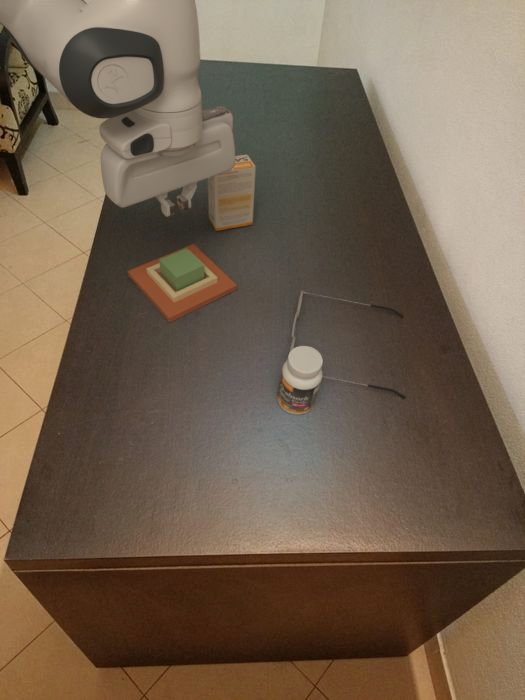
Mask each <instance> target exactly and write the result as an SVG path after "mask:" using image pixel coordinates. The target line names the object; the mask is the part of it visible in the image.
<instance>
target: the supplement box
mask: <svg viewBox="0 0 525 700" xmlns="http://www.w3.org/2000/svg"><path fill="white" fill-rule="evenodd" d="M256 169H257V168H256V165H255V163H254V162H253V161H252V159H251V158H250V156H249V155H248V154H240V155H235V164H234V166H233V168H232V169H231V170H230V171H227V172H224V173H221V174H219V175H216V176H213V177H210V178H207V198H208V200H207V201H208V219H209V222H210V223H211V225H212V226H213V229H214V230H215V232H220V231H226V230H230V229H236V228H240V227H246V226H251V225H253V224H254V206H255V186H256V185H255V184H256Z"/></svg>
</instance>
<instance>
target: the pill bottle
mask: <svg viewBox="0 0 525 700" xmlns="http://www.w3.org/2000/svg"><path fill="white" fill-rule="evenodd" d="M323 363H324V362H323V356H322V355H321V353H320V352H319V351H318V350H317V349H316V348H314V347H312V346H309V345H298V346H295V347H294V349H292V350H291V352H290V351H289V354H288V356H287V359H286V361H285V362H284V363H283V365H282V368H281V373H280V379H279V384H278V389H277V395H276V396H277V397H276V399H277V402H278V405H279V407H281V409H282V410H284V412H286V413H288V414H291V415H295V416H298V415H304V414H307V413H308V412H310V411H311V410H312V409H313V408H314V405H315V403H316V399H317V396H318V393H319V390H320V386H321V383H322V380H323V377H322V376H323V370H322V367H323Z"/></svg>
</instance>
